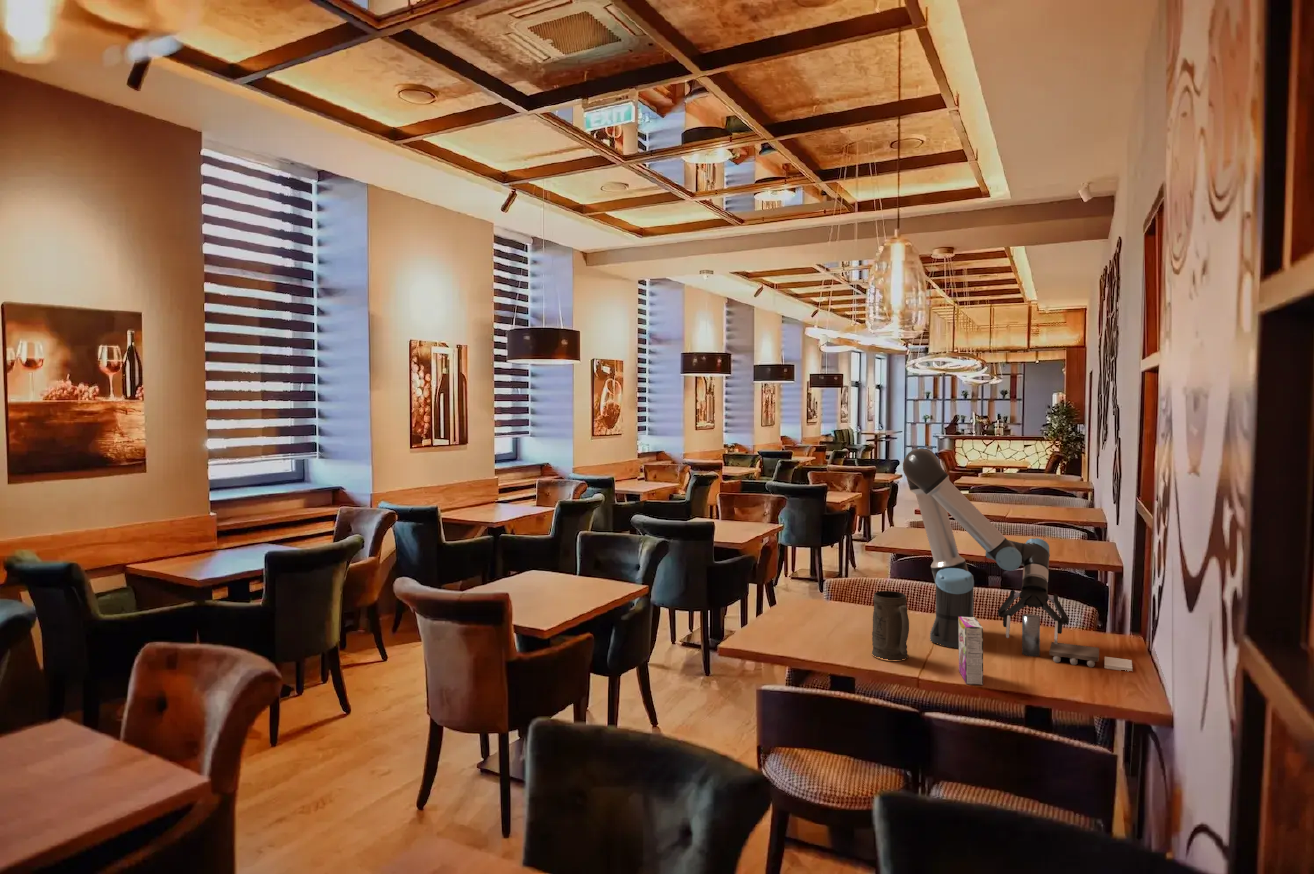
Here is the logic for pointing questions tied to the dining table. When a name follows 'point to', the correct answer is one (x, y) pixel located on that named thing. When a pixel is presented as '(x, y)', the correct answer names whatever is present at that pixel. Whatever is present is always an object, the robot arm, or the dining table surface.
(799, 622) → the dining table surface
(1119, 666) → the plate
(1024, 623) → the steel roller
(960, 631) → the candy bar box
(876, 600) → the beer stein
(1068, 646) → the roller slab
